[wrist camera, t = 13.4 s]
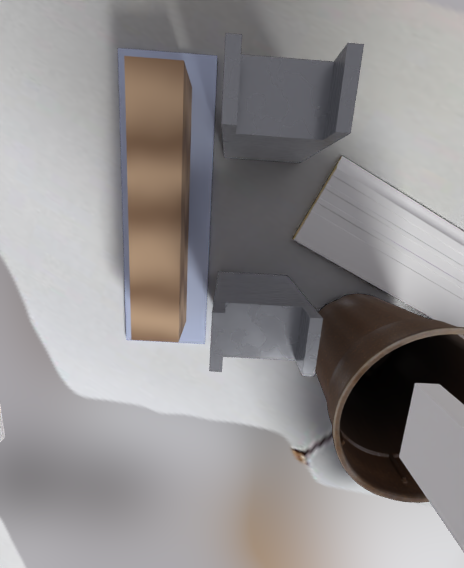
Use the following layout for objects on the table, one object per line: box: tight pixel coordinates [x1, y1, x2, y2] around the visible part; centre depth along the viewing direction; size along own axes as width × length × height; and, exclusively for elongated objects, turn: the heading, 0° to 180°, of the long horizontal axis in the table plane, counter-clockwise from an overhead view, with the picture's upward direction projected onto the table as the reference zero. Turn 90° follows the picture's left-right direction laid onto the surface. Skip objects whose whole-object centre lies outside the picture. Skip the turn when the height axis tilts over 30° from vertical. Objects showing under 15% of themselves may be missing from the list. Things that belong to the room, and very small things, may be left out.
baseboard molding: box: [293, 156, 464, 327], centre depth 36 cm, size 31×3×12 cm
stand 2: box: [209, 271, 323, 376], centre depth 31 cm, size 5×8×14 cm, turn 86°
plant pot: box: [315, 294, 464, 503], centre depth 31 cm, size 16×16×16 cm
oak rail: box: [124, 56, 192, 342], centre depth 32 cm, size 26×5×6 cm, turn 176°
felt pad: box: [118, 48, 217, 344], centre depth 35 cm, size 32×10×1 cm, turn 176°
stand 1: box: [221, 33, 364, 163], centre depth 26 cm, size 5×8×14 cm, turn 86°
